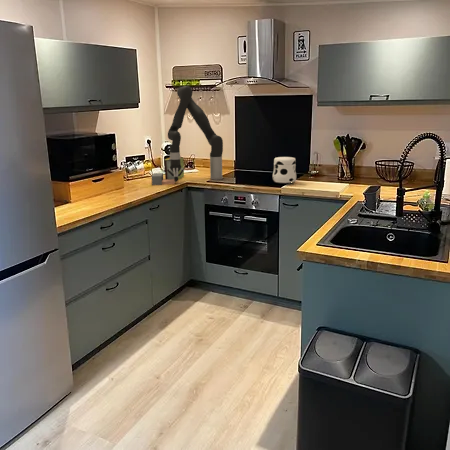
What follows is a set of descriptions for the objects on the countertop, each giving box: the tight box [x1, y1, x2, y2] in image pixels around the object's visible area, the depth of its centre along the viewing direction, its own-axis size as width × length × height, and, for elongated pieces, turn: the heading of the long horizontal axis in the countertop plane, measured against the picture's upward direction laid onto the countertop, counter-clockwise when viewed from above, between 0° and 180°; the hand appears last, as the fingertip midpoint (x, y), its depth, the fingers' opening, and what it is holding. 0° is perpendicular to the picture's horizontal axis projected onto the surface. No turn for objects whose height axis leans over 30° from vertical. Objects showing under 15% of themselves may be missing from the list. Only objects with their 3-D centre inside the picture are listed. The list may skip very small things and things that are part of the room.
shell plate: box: [162, 179, 176, 185], centre depth 337 cm, size 13×8×2 cm, turn 89°
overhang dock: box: [150, 172, 165, 186], centre depth 337 cm, size 7×12×6 cm, turn 0°
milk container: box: [272, 156, 297, 185], centre depth 329 cm, size 17×17×18 cm
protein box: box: [163, 156, 185, 180], centre depth 355 cm, size 10×15×16 cm
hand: (176, 181), depth 337 cm, fingers closed
